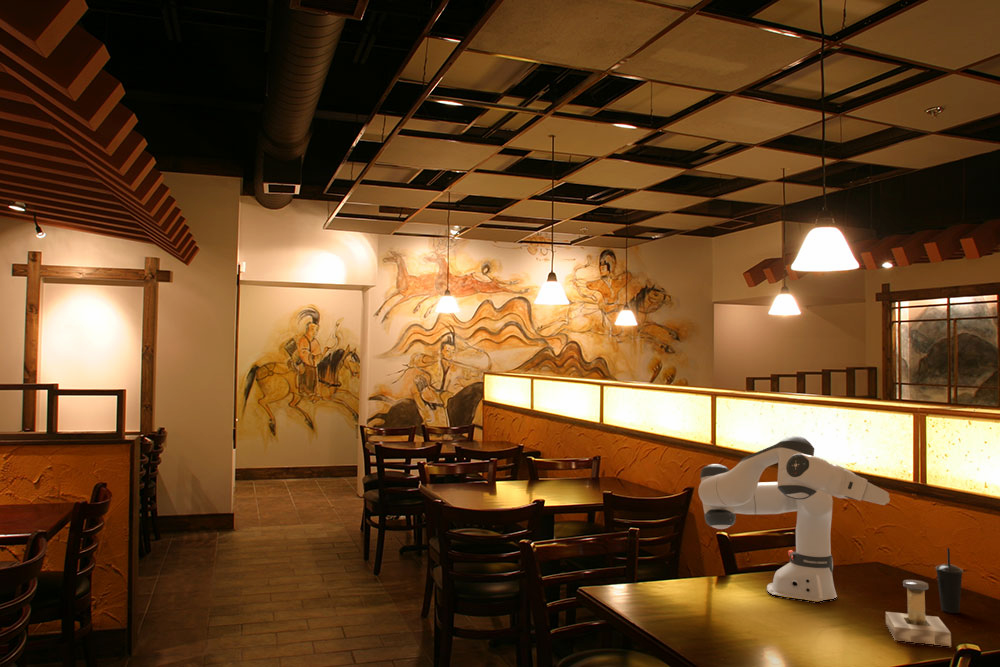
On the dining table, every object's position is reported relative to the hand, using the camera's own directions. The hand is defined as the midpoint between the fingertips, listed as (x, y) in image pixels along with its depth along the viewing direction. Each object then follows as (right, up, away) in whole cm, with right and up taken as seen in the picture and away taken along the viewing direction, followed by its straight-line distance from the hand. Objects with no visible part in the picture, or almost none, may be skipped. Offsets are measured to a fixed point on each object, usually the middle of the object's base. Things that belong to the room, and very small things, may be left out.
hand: (875, 496), depth 212 cm
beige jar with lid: (+10, -40, -4) cm, 41 cm away
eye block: (+10, -40, -4) cm, 41 cm away
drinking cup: (+34, -41, +18) cm, 56 cm away
